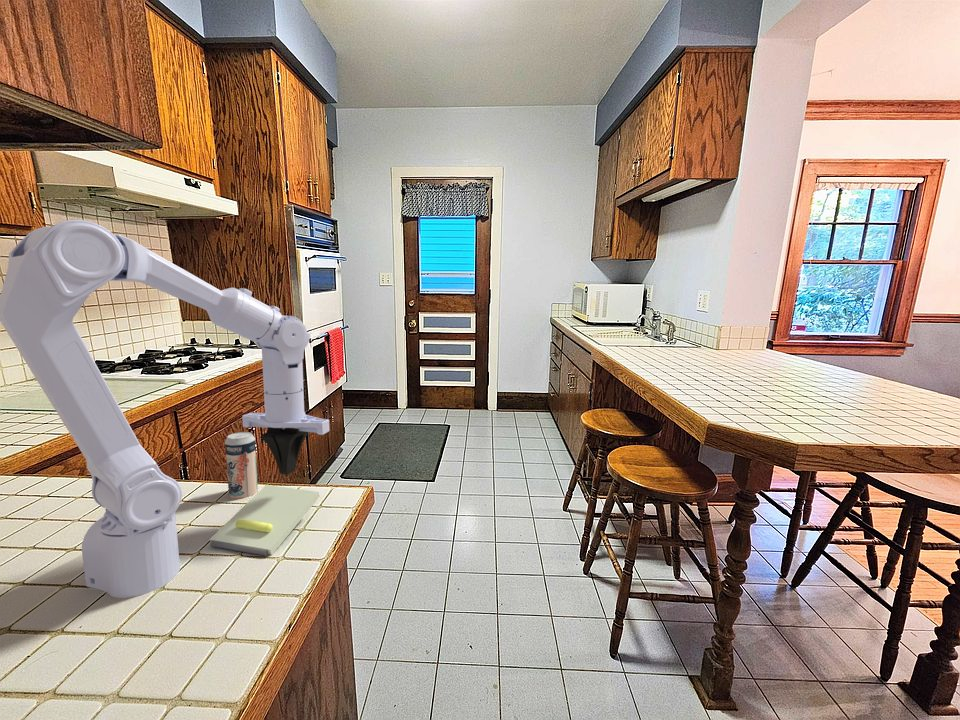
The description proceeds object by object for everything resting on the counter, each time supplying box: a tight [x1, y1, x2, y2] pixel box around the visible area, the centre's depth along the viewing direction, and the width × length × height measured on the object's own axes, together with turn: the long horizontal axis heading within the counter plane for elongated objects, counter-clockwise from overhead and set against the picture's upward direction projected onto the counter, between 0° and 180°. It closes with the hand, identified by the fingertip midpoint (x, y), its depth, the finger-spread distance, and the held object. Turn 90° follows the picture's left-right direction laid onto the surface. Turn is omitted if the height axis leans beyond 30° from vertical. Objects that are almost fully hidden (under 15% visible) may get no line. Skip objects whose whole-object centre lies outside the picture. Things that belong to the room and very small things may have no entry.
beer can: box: [224, 431, 259, 500], centre depth 76 cm, size 5×5×12 cm
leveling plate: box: [209, 484, 321, 557], centre depth 64 cm, size 10×12×2 cm
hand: (287, 472), depth 68 cm, fingers closed
